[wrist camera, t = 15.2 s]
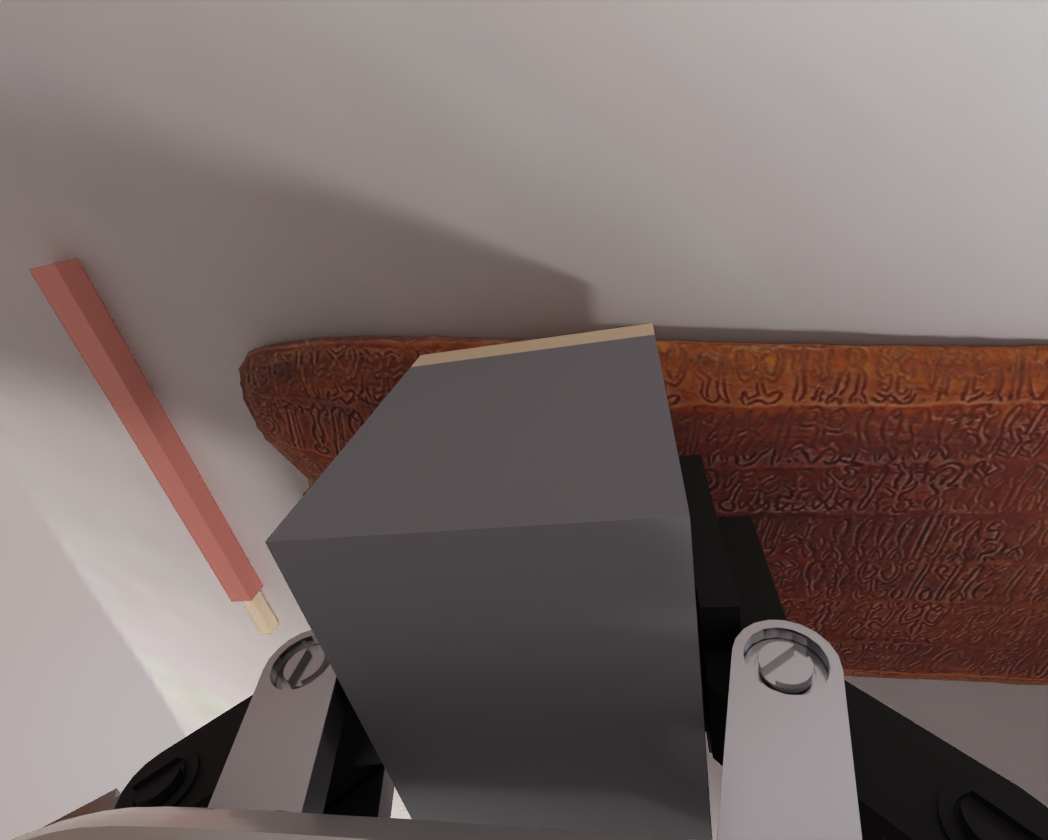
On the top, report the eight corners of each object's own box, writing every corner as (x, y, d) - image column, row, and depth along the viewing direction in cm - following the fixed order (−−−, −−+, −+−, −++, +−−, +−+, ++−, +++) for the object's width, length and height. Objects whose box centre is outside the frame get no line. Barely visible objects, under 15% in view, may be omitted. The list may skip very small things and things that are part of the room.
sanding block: (652, 322, 10) (690, 515, 5) (680, 631, 13) (717, 916, 9) (420, 354, 11) (265, 541, 6) (504, 634, 14) (450, 891, 10)
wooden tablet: (330, 613, 18) (305, 656, 16) (240, 320, 13) (193, 345, 12) (1301, 703, 14) (1382, 772, 12) (1692, 330, 9) (1899, 370, 8)
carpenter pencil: (81, 257, 12) (54, 264, 12) (285, 620, 17) (273, 637, 17) (58, 262, 12) (29, 269, 12) (266, 620, 18) (254, 638, 17)
